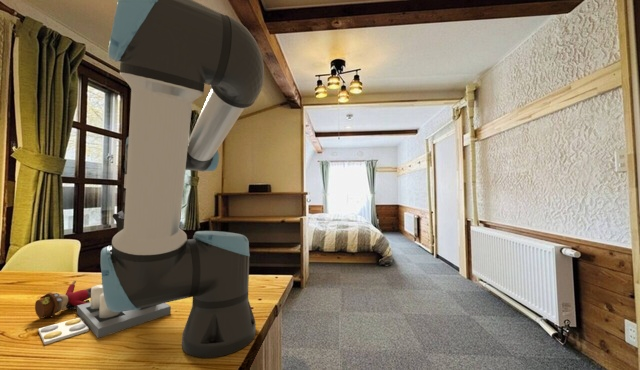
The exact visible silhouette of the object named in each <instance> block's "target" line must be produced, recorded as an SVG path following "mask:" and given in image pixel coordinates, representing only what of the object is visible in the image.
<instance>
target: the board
mask: <svg viewBox="0 0 640 370" xmlns="http://www.w3.org/2000/svg"><path fill="white" fill-rule="evenodd" d="M90 304H91V301H90V302H89V303H85V304H81V305H77V309H76V314H77V315H78V317H79V318H80V319H81V320H82V321H83V322H84V324H85V325H86V326H87V327H88V328H89V330H90V331H91V332H92V333H93V334H94V336H96V337H97V339H100V338H102V337H106V336H108V335H113V334H114V333H117V332H120V331H124V330H127V329H130V328H132V327H133V328H134V327H135V326H139V325H141V324H145V323H147V321H148V322H150V321H153V320H157V319H159V318H162V317H165V316H168V315H171V312H172V309H171V308H172V306H171V305H170V304H168V303H162V304H158V305H153V306H148V307H144V308H141V309H139V310H129V311H123V312H120V313H119V314H118V315H115V316H113V317H108V318H100V317H99V310H100V309H91V308H90ZM144 322H145V323H144Z"/></svg>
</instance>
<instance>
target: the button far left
mask: <svg viewBox="0 0 640 370" xmlns="http://www.w3.org/2000/svg"><path fill="white" fill-rule="evenodd" d="M90 288H91V298H90V302H91V304H90V308H91V309H100V295H101V294H102V293H103V286H102V285H101V284H98V285H93V286H92V287H90Z"/></svg>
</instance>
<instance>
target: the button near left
mask: <svg viewBox="0 0 640 370" xmlns="http://www.w3.org/2000/svg"><path fill="white" fill-rule="evenodd" d="M119 313H120V312H113V311H110V310H109V309H108V308H107V306H106V303H105V299H104V293H102V294H101V295H100V310H99V317H100V318H108V317H113V316H115V315H118V314H119Z"/></svg>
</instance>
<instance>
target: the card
mask: <svg viewBox="0 0 640 370" xmlns="http://www.w3.org/2000/svg"><path fill="white" fill-rule="evenodd" d="M89 330H90V328H89V327H88V326H87V325H86V323H85V322H84V321H83V320H82V319H81V318H80V317H77V318H73V319H69V320H68V319H67V320H66V321H65V320H64V321H62V322H58V323H55V324H51V325H47V326H43V327H40V328H38V333H39V336H40V338H41V340H42V343H43V344H44V346H46V345H49V344H52V343H55V342H59V341H62V340H64V339H65V340H66V339H68V338H71V337H74V336H77V335H80V334H85V333H87V332H89Z"/></svg>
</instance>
